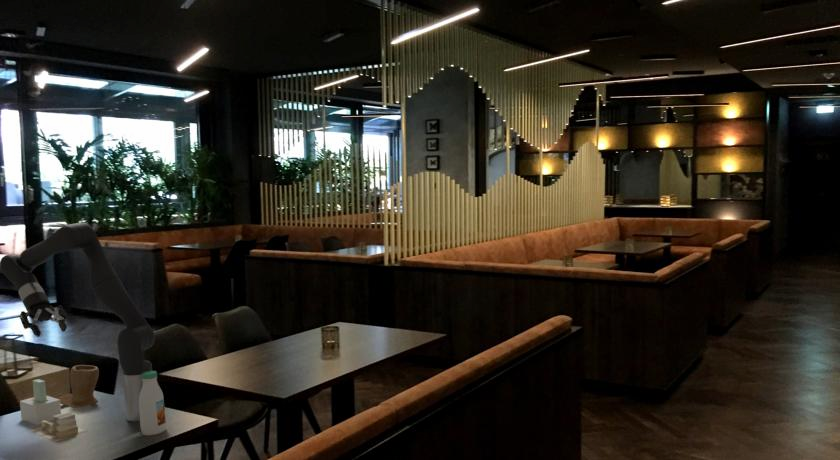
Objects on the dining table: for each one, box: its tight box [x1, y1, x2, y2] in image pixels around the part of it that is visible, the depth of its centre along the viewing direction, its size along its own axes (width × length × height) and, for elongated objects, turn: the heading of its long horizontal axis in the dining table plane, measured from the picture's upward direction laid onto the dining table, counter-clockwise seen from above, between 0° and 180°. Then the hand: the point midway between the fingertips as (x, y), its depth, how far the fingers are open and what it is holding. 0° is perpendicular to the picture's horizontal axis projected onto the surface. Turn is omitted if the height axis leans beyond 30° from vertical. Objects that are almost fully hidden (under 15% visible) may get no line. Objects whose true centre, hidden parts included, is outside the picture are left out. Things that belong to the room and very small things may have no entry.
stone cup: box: [57, 364, 100, 408], centre depth 252 cm, size 15×12×15 cm
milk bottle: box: [139, 370, 167, 436], centre depth 219 cm, size 8×8×20 cm
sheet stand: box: [19, 394, 62, 426], centre depth 233 cm, size 12×8×8 cm, turn 54°
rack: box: [30, 420, 87, 442], centre depth 220 cm, size 18×10×4 cm, turn 54°
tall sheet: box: [32, 378, 47, 403], centre depth 233 cm, size 5×2×14 cm, turn 53°
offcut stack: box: [51, 411, 79, 438], centre depth 217 cm, size 6×6×6 cm
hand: (52, 332), depth 232 cm, fingers open, 8 cm apart
